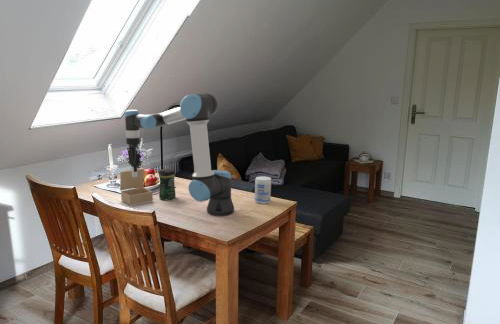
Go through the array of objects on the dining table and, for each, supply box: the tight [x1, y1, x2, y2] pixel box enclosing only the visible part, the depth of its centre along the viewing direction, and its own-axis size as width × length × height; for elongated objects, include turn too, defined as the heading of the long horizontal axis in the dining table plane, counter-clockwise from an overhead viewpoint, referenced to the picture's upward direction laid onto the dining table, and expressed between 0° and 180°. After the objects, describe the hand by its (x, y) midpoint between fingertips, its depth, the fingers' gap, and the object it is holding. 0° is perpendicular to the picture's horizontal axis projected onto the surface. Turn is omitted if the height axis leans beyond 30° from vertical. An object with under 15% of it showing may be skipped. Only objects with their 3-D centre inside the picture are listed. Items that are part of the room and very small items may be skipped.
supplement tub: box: [254, 175, 272, 205], centre depth 232 cm, size 10×10×15 cm
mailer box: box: [120, 186, 154, 207], centre depth 230 cm, size 12×14×6 cm
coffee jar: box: [158, 167, 177, 201], centre depth 235 cm, size 10×8×19 cm
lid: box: [119, 167, 145, 192], centre depth 232 cm, size 12×14×1 cm
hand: (134, 176), depth 229 cm, fingers closed
